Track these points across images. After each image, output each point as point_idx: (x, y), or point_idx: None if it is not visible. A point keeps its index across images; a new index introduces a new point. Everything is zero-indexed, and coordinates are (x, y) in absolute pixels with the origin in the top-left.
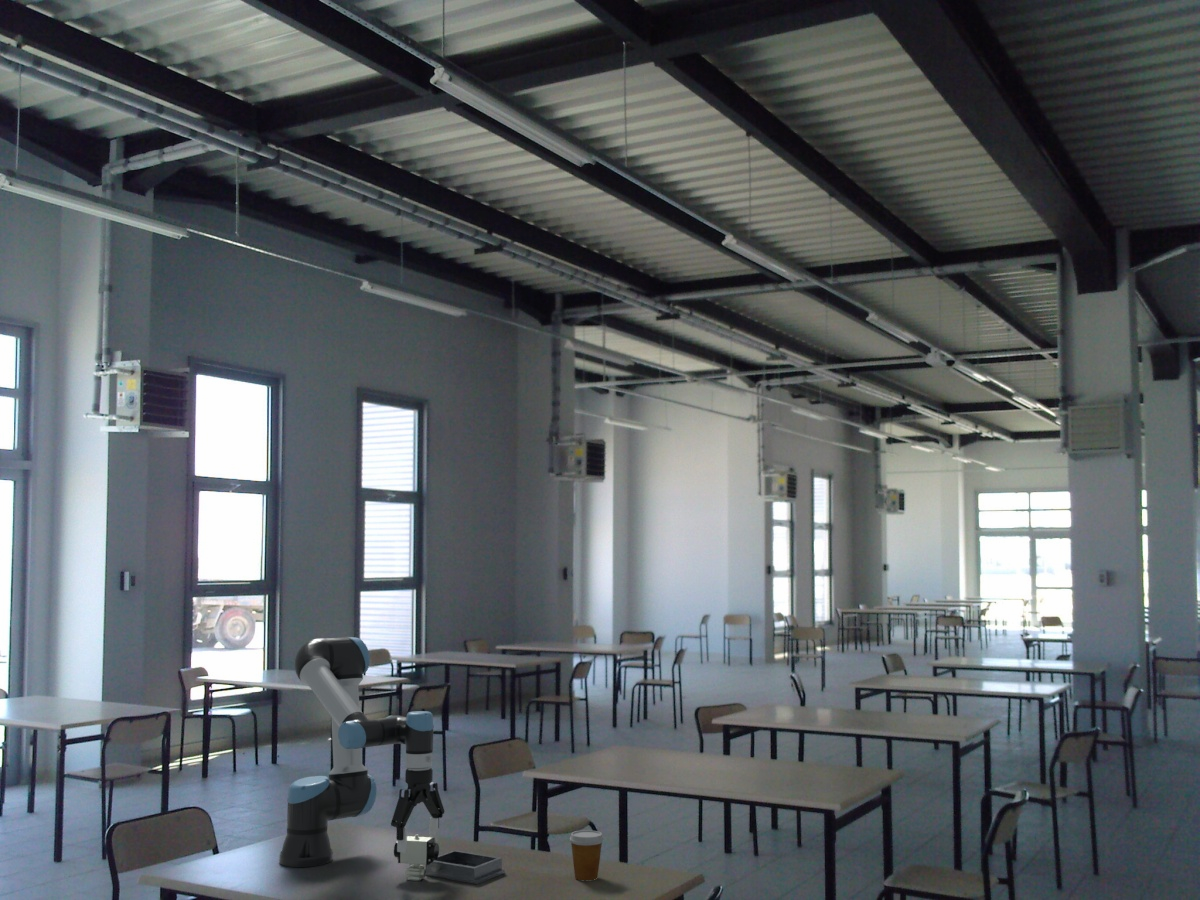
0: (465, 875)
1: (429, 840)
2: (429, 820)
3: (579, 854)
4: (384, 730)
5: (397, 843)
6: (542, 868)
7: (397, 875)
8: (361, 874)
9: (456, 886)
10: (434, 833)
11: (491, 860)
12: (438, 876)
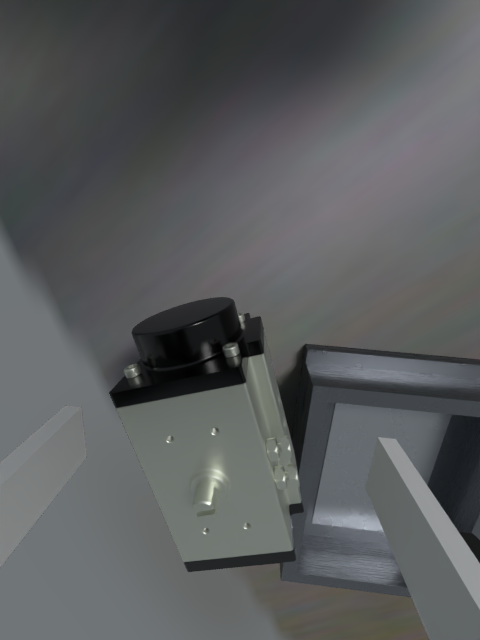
0: None
1: (212, 564)
2: (476, 615)
3: None
4: None
5: (26, 441)
6: None
7: (250, 262)
8: (185, 89)
9: None
10: (393, 527)
11: (406, 588)
12: (295, 413)
